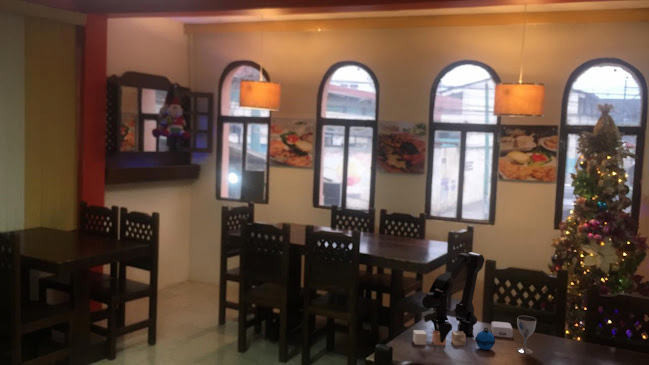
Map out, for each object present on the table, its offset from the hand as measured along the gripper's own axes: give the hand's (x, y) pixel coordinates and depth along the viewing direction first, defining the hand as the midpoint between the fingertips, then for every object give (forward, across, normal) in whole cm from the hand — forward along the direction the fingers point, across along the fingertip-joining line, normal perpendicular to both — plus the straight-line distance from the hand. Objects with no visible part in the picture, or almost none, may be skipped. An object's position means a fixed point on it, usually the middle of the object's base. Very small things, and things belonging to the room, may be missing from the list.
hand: (439, 338), depth 278 cm
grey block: (+2, 0, -9) cm, 9 cm away
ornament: (+2, +7, +19) cm, 20 cm away
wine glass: (+2, +8, +37) cm, 38 cm away
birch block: (+2, 0, +9) cm, 9 cm away
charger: (+2, -17, +35) cm, 39 cm away
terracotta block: (+2, 0, 0) cm, 2 cm away
